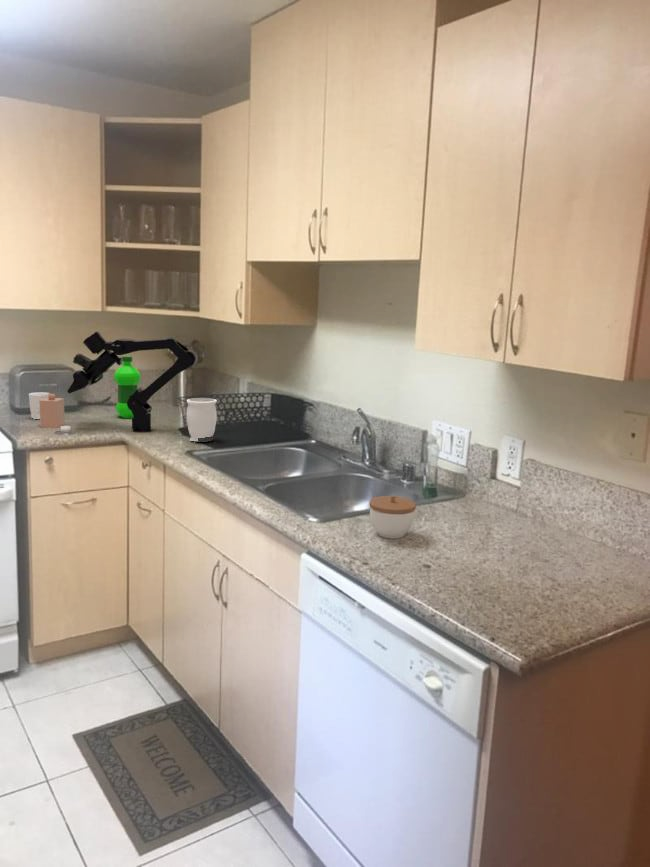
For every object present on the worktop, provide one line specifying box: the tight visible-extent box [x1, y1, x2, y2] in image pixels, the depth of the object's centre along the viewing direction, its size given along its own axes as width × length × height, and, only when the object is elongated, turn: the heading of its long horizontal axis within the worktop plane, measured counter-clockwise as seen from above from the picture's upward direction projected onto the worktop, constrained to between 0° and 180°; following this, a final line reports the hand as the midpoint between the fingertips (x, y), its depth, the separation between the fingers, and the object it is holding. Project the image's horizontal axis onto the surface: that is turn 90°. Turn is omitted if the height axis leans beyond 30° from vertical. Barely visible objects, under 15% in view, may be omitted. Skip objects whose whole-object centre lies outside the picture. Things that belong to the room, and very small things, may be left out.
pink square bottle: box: [39, 393, 66, 429], centre depth 265 cm, size 6×7×13 cm
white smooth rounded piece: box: [59, 425, 72, 433], centre depth 255 cm, size 3×3×2 cm
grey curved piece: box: [53, 429, 78, 436], centre depth 255 cm, size 8×8×1 cm
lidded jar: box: [369, 494, 417, 540], centre depth 163 cm, size 11×11×9 cm
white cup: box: [28, 391, 51, 420], centre depth 281 cm, size 8×8×10 cm
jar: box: [186, 397, 218, 442], centre depth 251 cm, size 11×10×15 cm
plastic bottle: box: [113, 355, 141, 419], centre depth 288 cm, size 10×10×25 cm
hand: (72, 390), depth 263 cm, fingers open, 9 cm apart
